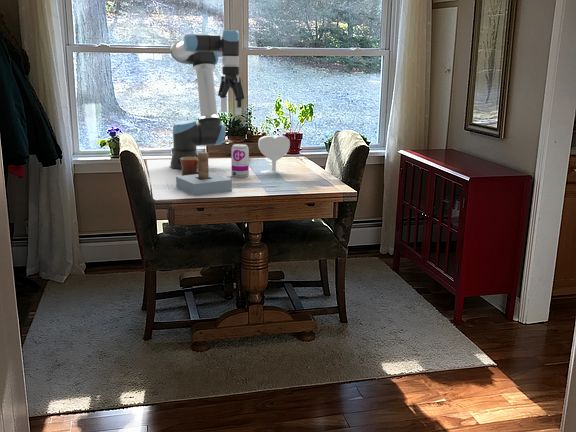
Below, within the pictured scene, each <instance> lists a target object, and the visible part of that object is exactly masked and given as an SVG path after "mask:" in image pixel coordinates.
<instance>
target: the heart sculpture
mask: <svg viewBox="0 0 576 432" xmlns="http://www.w3.org/2000/svg"><path fill="white" fill-rule="evenodd" d="M257 145H258V150H259V151H260V152H261V154H262V155H263V156H265V158H267V159H269V160H270V161H271V169H267V170H261V171H260V173H261V174H269V173H270V174H272V173H273V174H274V173H287V171H288V170H283V169H277V161H278V160H280V159H282V158H284V156H286V155H287V153H288V151H289V150H290V146H291V141H290V139H289V138H288V137H287V136H284V135H276V136H271V135H264V136H261V137H260V138H258V142H257Z"/></svg>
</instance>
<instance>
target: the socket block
mask: <svg viewBox="0 0 576 432" xmlns="http://www.w3.org/2000/svg"><path fill="white" fill-rule="evenodd" d="M175 188H176V189H179V190H181V191H183V192H185V193H188V194H190V195H192V196H193V197H196V196H203V195H210V194H211V195H212V194H219V193H227V192H232V190H233V180H232V178H228V177H226V176H223V175H220V174H218V173H215V172H209V179H205V180H199V179H198V174H193V175H184V176H182V175H177V176H175Z"/></svg>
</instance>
